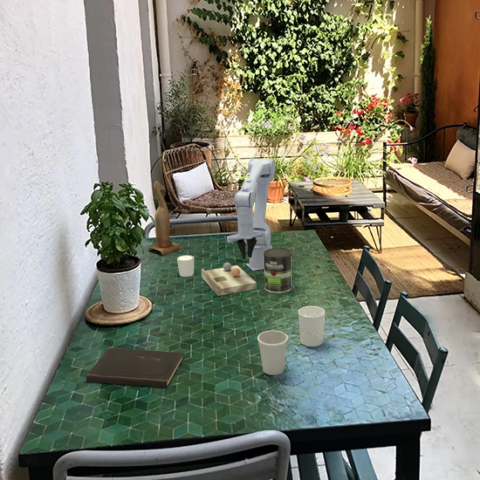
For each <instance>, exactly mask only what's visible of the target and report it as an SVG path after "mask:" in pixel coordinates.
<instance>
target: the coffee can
mask: <svg viewBox="0 0 480 480" xmlns="http://www.w3.org/2000/svg"><path fill="white" fill-rule="evenodd" d="M263 254H264V269H263V271H264V272H263V274H264V275H263V276H264V279H263V281H264V290H265V291H266V292H268V293H270V294H286V293H288V292H290V291H291V290H293V285H292V283H293V281H292V280H293V279H292V277H293V276H292V271H293V270H292V268H293V266H292V265H293V264H292V258H293V257H292V255H293V252H292V251H291V250H290V249H288V248H283V247H272V248H271V249H268V250H265V251H264V253H263Z"/></svg>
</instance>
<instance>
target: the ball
mask: <svg viewBox="0 0 480 480" xmlns="http://www.w3.org/2000/svg"><path fill="white" fill-rule="evenodd" d="M232 274H233V276H235V277H237V276H239V275H240V270H239V269H238V268H235V269H233V270H232Z"/></svg>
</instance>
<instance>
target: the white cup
mask: <svg viewBox="0 0 480 480" xmlns="http://www.w3.org/2000/svg"><path fill="white" fill-rule="evenodd" d="M297 313H298V327H299V329H298V330H299V341H300V344H302V345H303V346H306V347H313V348H314V347H315V348H316V347H319V346H321V345H322V344H323V343H324V332H325V323H326V322H325V318H326V311H325V309H324V308H322V307H319V306H316V305H306V306H303V307H301V308H299V309H298V311H297Z"/></svg>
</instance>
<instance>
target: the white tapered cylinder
mask: <svg viewBox="0 0 480 480" xmlns="http://www.w3.org/2000/svg"><path fill="white" fill-rule="evenodd" d="M176 261H177V266H178V267H177V268H178V272H179V276H180V277H182V278H188V277H189V278H190V277H192V276H193V275H195V274H194V273H195V256H193V255H190V254H187V255H180V256H178V257H177V258H176Z"/></svg>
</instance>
